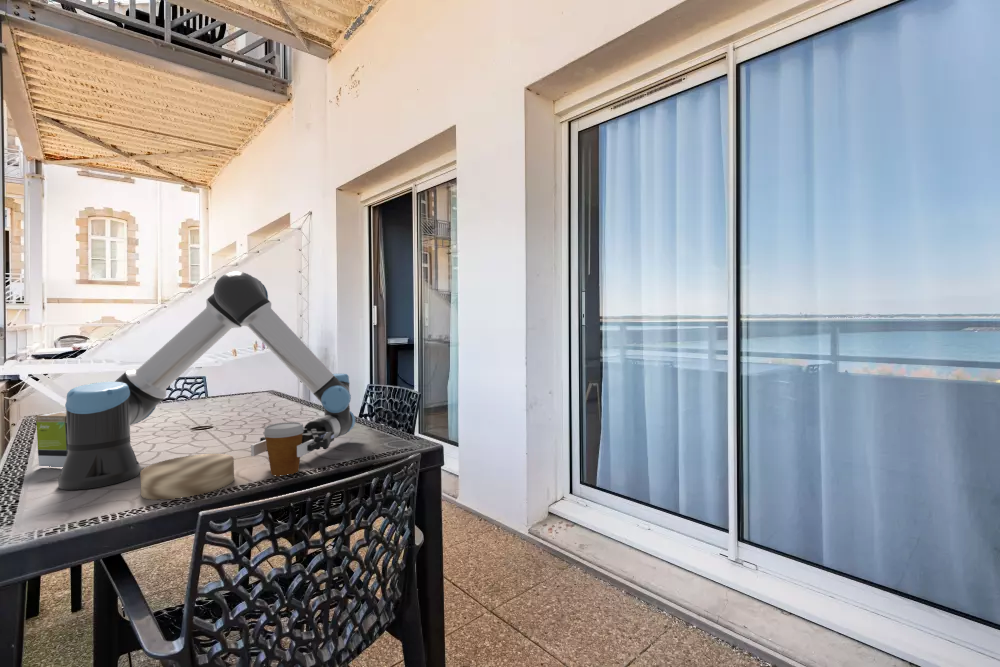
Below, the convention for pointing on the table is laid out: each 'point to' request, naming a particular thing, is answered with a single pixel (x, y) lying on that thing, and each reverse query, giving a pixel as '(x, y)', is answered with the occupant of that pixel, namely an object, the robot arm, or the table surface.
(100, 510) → the table surface
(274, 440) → the disposable coffee cup
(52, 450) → the tea box
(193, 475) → the wooden plinth
